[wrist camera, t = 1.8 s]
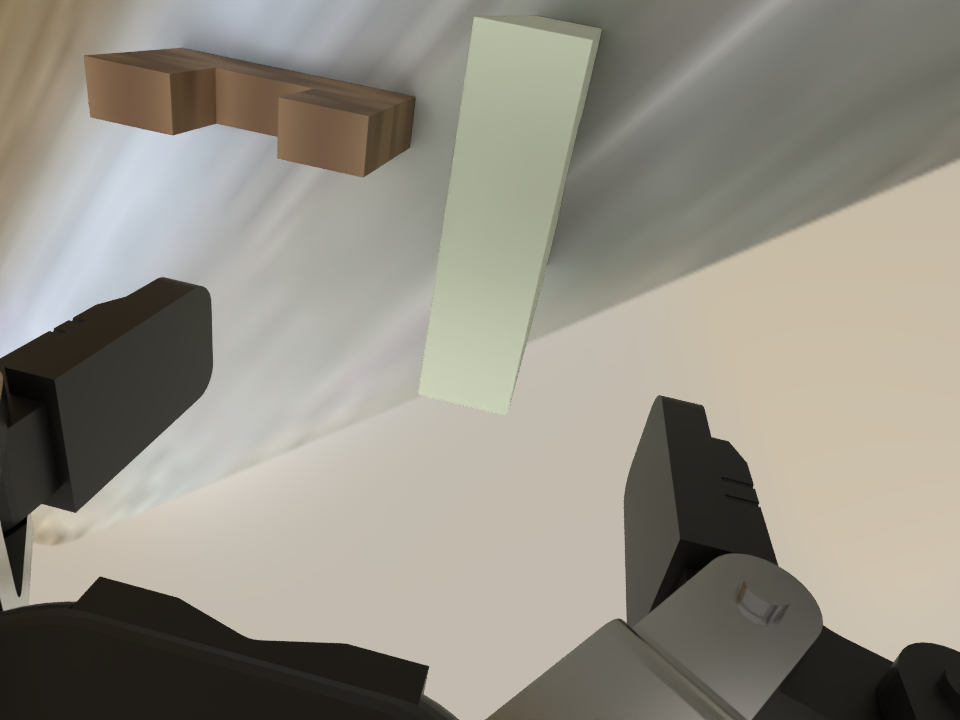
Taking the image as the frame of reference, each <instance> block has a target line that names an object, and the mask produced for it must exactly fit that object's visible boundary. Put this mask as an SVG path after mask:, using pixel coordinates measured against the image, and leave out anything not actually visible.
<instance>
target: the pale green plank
mask: <svg viewBox="0 0 960 720" xmlns="http://www.w3.org/2000/svg"><path fill="white" fill-rule="evenodd" d="M601 32H602V29H601V28H596V27H591V26H586V25H581V24H576V23H571V22H566V21H561V20H555V19H550V18H545V17H540V16H474V20H473V27H472V33H471V40H470V47H469V54H468V60H467V67H466V74H465V81H464V87H463V94H462V101H461V108H460V114H459V121H458V128H457V135H456V142H455V148H454V155H453V162H452V169H451V175H450V182H449V189H448V196H447V202H446V209H445V216H444V223H443V229H442V236H441V243H440V250H439V256H438V263H437V270H436V277H435V283H434V290H433V297H432V304H431V310H430V317H429V324H428V331H427V337H426V344H425V351H424V358H423V364H422V371H421V378H420V385H419V391H418V395H422V396H426V397H431V398H435V399H439V400H443V401H447V402H451V403H455V404H459V405H463V406H468V407H471V408H476V409H480V410H484V411H488V412H492V413H496V414H501V415H504V416H507V414H508V410H509V406H510V403H511V399H512V395H513V392H514V388H515V384H516V380H517V377H518V373H519V369H520V365H521V361H522V357H523V354H524V350H525V347H526V343H527V339H528V335H529V332H530V328H531V324H532V320H533V317H534V313H535V309H536V305H537V302H538V298H539V294H540V290H541V287H542V283H543V279H544V275H545V272H546V268H547V264H548V260H549V255H550V251H551V247H552V243H553V238H554V234H555V230H556V225H557V221H558V217H559V212H560V208H561V204H562V200H563V197H562V195H563V191H564V187H565V182H566V178H567V174H568V169H569V165H570V161H571V157H572V152H573V148H574V144H575V139H576V135H577V131H578V126H579V123H580V120H581V117H582V114H583V110H584V105H585V101H586V97H587V92H588V88H589V84H590V80H591V75H592V71H593V67H594V62H595V58H596V54H597V49H598V45H599V41H600V37H601Z"/></svg>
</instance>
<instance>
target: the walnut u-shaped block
mask: <svg viewBox="0 0 960 720" xmlns="http://www.w3.org/2000/svg"><path fill="white" fill-rule="evenodd" d="M84 62H85V71H86V81H87V90H88V99H89V108H90V117H92V118H96V119H101V120H105V121H110V122H114V123H119V124H123V125H128V126H132V127H137V128H141V129H146V130H151V131H155V132H160V133H164V134H169V135H176V134H180V133H183V132H187V131H191V130H194V129H198V128H202V127H205V126H209V125H213V124H216V123H217V124H222V125H226V126H231V127H235V128H240V129H244V130H249V131H254V132H258V133H263V134H267V135H272V136H277V137H278V155H277V158H278V159H282V160H287V161H291V162H296V163H300V164H305V165H309V166H314V167H318V168H323V169H328V170H332V171H337V172H341V173H346V174H350V175H355V176H359V177H365V176H366V175H368V174H370V173H371V172H373V171H374V170H376V169H377V168H379V167H380V166H382V165H383V164H385V163H386V162H388V161H390V160H391V159H393V158H394V157H396V156H397V155H399V154H400V153H402V152H403V151H405V150H406V149H408V148H410V140H411V131H412V122H413V114H414V105H415V97H413V96H409V95H404V94H399V93H394V92H389V91H385V90H380V89H375V88H370V87H366V86H361V85H356V84H351V83H347V82H342V81H337V80H332V79H327V78H323V77H318V76H313V75H308V74H304V73H299V72H294V71H289V70H285V69H280V68H275V67H270V66H265V65H261V64H256V63H251V62H246V61H242V60H237V59H232V58H227V57H222V56H218V55H213V54H208V53H203V52H199V51H194V50H189V49H184V48H176V49H163V50H150V51H137V52H124V53H111V54H98V55H85V56H84Z"/></svg>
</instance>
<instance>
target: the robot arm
mask: <svg viewBox="0 0 960 720" xmlns="http://www.w3.org/2000/svg"><path fill="white" fill-rule="evenodd" d="M212 369H213V349H212V310H211V297H210V294H209V292H208V290H207V289H206V288H205V287H203V286H199V285H195V284H190V283H186V282H182V281H178V280H173V279H169V278H164V277H161V278H158V279H156V280H154V281H153V282H151V283H149V284H147V285H146V286H144V287H142V288H140V289H139V290H137V291H135V292H133V293H132V294H130V295H128V296H127V297H123V298H119V299H116V300H112V301H108V302H105V303H101V304H97V305H95V306H93V307H91V308H90V309H88V310H86V311H84V312H82V313H81V314H79V315H77V316H75V317H74V318H73V320H72V321H69V320H68V321H66V322H65V323H63V324H61V325H59V326H57V327H56V328H54V331H53V332H50V331H49V332H47V333H45V334H43V335H41V336H40V337H38V338H36V339H34V340H32V341H31V342H29V343H27V344H25V345H23V346H22V347H20V348H18V349H16V350H15V351H13V352H11V353H9V354H7V355H6V356H4V357H2V358H0V720H459V719H457V718H456V717H455V716H454V715H453V714H452V713H450V712H449V711H448V710H446V709H445V708H444V707H442V706H441V705H440V704H438V703H437V702H435V701H433V700H432V699H430V698H428V697H427V696H425V695H423V694H424V689H425V684H426V679H427V674H428V669H429V666H426V665H422V664H418V663H415V662H411V661H408V660H404V659H400V658H397V657H393V656H389V655H386V654H382V653H378V652H375V651H371V650H367V649H363V648H360V647H356V646H353V645H349V644H342V643H315V642H289V641H262V640H253V639H250V638H247V637H245V636H243V635H241V634H239V633H237V632H236V631H234V630H232V629H231V628H229V627H227V626H225V625H224V624H222V623H220V622H219V621H217V620H215V619H213V618H212V617H210V616H208V615H207V614H205V613H203V612H201V611H200V610H198V609H196V608H195V607H193V606H191V605H190V604H188V603H186V602H184V601H183V600H181V599H179V598H177V597H173V596H169V595H166V594H162V593H158V592H155V591H151V590H147V589H144V588H140V587H136V586H132V585H129V584H125V583H122V582H118V581H114V580H111V579H107V578H103V577H99V578H98V579H97V580H96V581H95V582H94V583H93V584H92V586H91V587H90V588H89V589H88V590H87V591H86V592H85V593H84V595H82V596H81V598H80V599H79V600H78V601H77V602H54V603H43V604H35V605H29V591H30V576H31V560H32V546H33V531H34V529H33V522H32V517H31V512H32V511H33V510H35V509H36V508H37V507H38V506H39V505H40V504H44V505H48V506H52V507H56V508H59V509H63V510H67V511H71V512H74V513H76V512H77V511H78V510H79V509H80V508H81V507H83V506H84V505H85V504H86V503H87V502H88V501H89V500H90V499H91V498H92V497H93V496H94V495H95V494H97V493H98V492H99V491H100V490H101V489H102V488H103V487H104V486H105V485H106V484H107V483H108V482H109V481H111V480H112V479H113V478H114V477H115V476H116V475H117V474H118V473H119V472H120V471H121V470H122V469H124V468H125V467H126V466H127V465H128V464H129V463H130V462H131V461H132V460H133V459H134V458H135V457H136V456H138V455H139V454H140V453H141V452H142V451H143V450H144V449H145V448H146V447H147V446H148V445H149V444H151V443H152V442H153V441H154V440H155V439H156V438H157V437H158V436H159V435H160V434H161V433H162V432H163V431H165V430H166V429H167V428H168V427H169V426H170V425H171V424H172V423H173V422H174V421H175V420H176V419H178V418H179V417H180V416H181V415H182V414H183V413H184V412H185V411H186V410H187V409H188V408H189V407H190V406H192V405H193V404H194V403H195V402H196V401H197V400H198V399H199V398H200V397H201V396H202V395H203V393H204V392H205V390H206V388H207V386H208V384H209V381H210V378H211V374H212ZM758 504H759V501H758V498H757V495H756V491H755V489H753V481H752V478H751V474H750V471H749V468H748V465H747V462H746V461H745V460H744V459H743V458H742V457H741V456H740V454H739V453H738V452H737V451H736V450H735V448H734V447H733V446H732V445H731V444H730V442H728V441H725V440H720V439H716V438H712V437H711V434H710V430H709V426H708V422H707V417H706V414H705V409H704V407H703V406H702V405H698V404H694V403H690V402H686V401H681V400H677V399H673V398H669V397H664V396H660V395H659V396H657V398H656V399H655V401H654V403H653V406H652V408H651V411H650V414H649V416H648V419H647V422H646V425H645V428H644V431H643V434H642V437H641V439H640V442H639V445H638V448H637V451H636V453H635V456H634V459H633V462H632V465H631V468H630V471H629V475H628V478H627V483H626V488H625V495H624V529H625V567H626V607H627V623H625V622H624V621H623V620H622V619H614V620H612V621H610V622H609V623H607V624H605V625H604V626H603V627H601V628H600V629H599V630H598V631H596V632H595V633H594V634H593V635H591V636H590V637H589V638H588V639H586V640H585V641H584V642H583V643H581V644H580V645H579V646H578V647H576V648H575V649H574V650H572V651H571V652H570V653H569V654H567V655H566V656H565V657H564V658H562V659H561V660H560V661H559V662H558V663H556V664H555V665H554V666H552V667H551V668H550V669H549V670H547V671H546V672H545V673H544V674H543V675H541V676H540V677H539V678H537V679H536V680H535V681H533V682H532V683H531V684H530V685H529V686H527V687H526V688H525V689H523V690H522V691H521V692H520V693H518V694H517V695H516V696H515V697H513V698H512V699H511V700H510V701H508V702H507V703H506V704H505V705H503V706H502V707H501V708H499V709H498V710H497V711H496V712H495V713H493V714H492V715H491V716H489V717H488V718H487V719H486V720H960V652H958V651H956V650H953V649H951V648H948V647H945V646H941V645H937V644H933V643H914V644H911V645H908V646H907V647H905V648H904V649H903V650H902V652H901V653H900V654H899V656H898V657H897V658H896V660H895V661H894V662H892V661H890V660H888V659H885V658H884V657H882V656H879V655H878V654H876V653H874V652H871V651H869V650H867V649H865V648H863V647H861V646H859V645H857V644H855V643H853V642H851V641H849V640H847V639H845V638H843V637H842V636H840V635H838V634H836V633H834V632H833V631H831V630H829V629H828V628H826V627H825V626H823V620H822V614H821V611H820V608H819V606H818V604H817V602H816V600H815V599H814V597H813V596H812V594H811V593H810V592H809V591H808V590H807V589H806V587H805V586H804V585H803V584H802V583H801V582H799V581H798V580H797V579H796V578H795V577H794V576H792V575H791V574H790V573H788V572H787V571H785V570H784V569H782V568H780V567H779V566H778V563H777V560H776V557H775V553H774V550H773V547H772V544H771V541H770V537H769V534H768V530H767V527H766V524H765V521H764V517H763V514H762V511H761V508H760V507H758Z"/></svg>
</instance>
